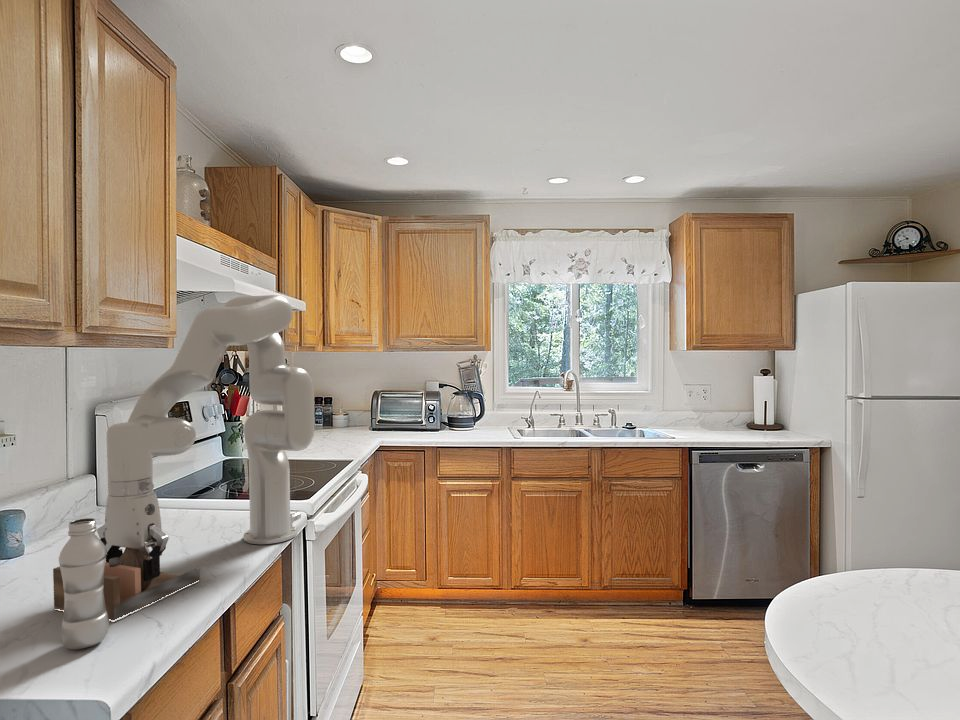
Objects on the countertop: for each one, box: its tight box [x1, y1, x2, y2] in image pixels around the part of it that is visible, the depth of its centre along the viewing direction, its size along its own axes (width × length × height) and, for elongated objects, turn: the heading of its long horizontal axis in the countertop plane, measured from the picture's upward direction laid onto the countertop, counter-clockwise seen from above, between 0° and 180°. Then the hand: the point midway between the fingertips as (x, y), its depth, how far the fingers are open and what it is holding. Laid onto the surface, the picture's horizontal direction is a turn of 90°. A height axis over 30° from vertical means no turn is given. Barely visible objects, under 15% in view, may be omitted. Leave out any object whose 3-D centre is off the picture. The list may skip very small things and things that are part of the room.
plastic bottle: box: [58, 517, 110, 650], centre depth 97 cm, size 6×7×20 cm
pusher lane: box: [52, 566, 201, 620], centre depth 116 cm, size 19×15×8 cm
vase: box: [119, 547, 152, 592], centre depth 116 cm, size 7×7×9 cm
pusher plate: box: [104, 557, 141, 602], centre depth 113 cm, size 2×12×8 cm, turn 70°
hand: (133, 575), depth 116 cm, fingers open, 9 cm apart
